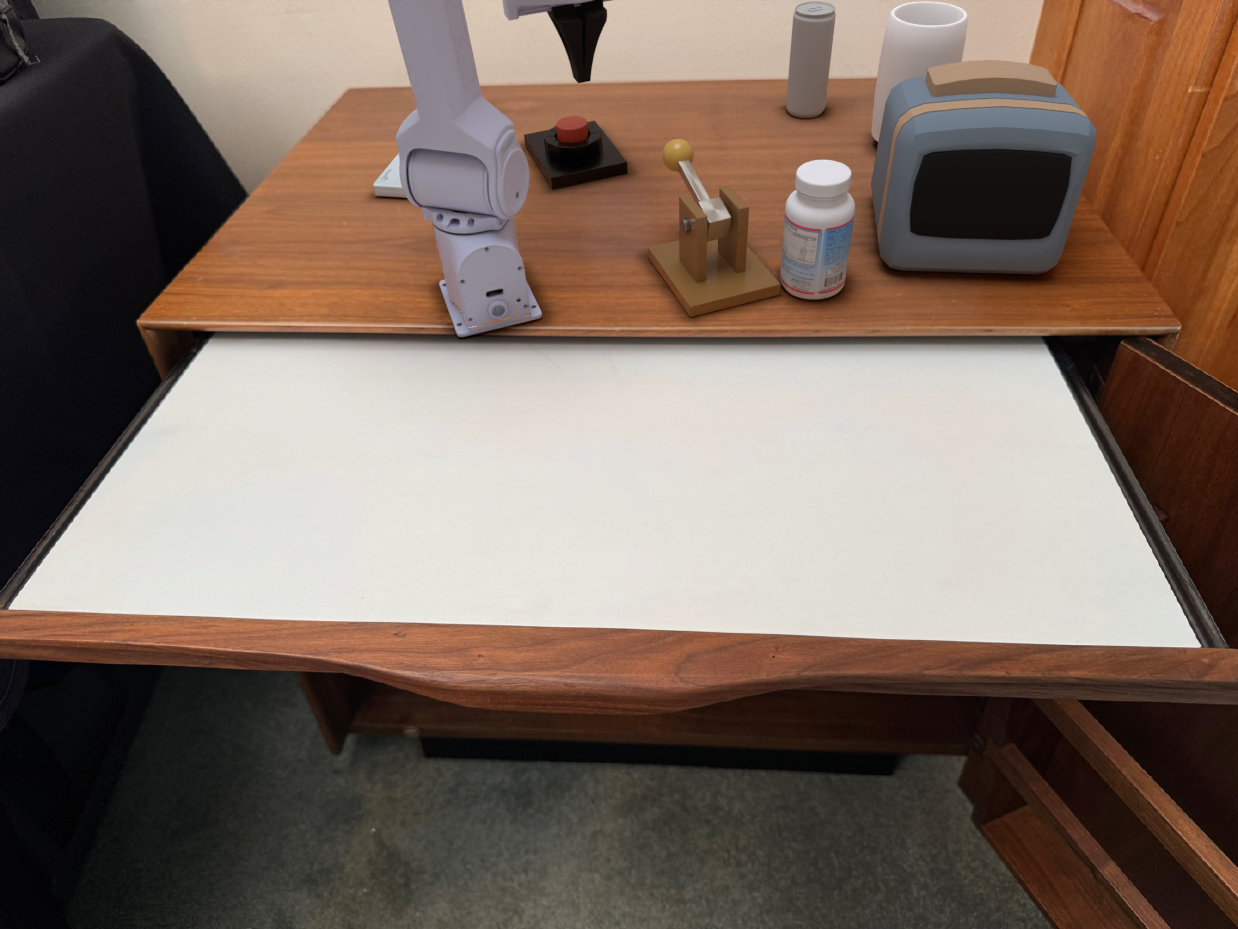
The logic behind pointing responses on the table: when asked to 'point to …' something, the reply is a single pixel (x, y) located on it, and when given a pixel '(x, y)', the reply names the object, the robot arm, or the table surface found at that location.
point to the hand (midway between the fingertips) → (581, 78)
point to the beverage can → (810, 58)
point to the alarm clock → (979, 169)
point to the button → (572, 129)
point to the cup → (917, 47)
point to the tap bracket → (712, 260)
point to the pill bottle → (817, 230)
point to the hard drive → (390, 181)
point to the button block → (575, 157)
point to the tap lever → (697, 188)
